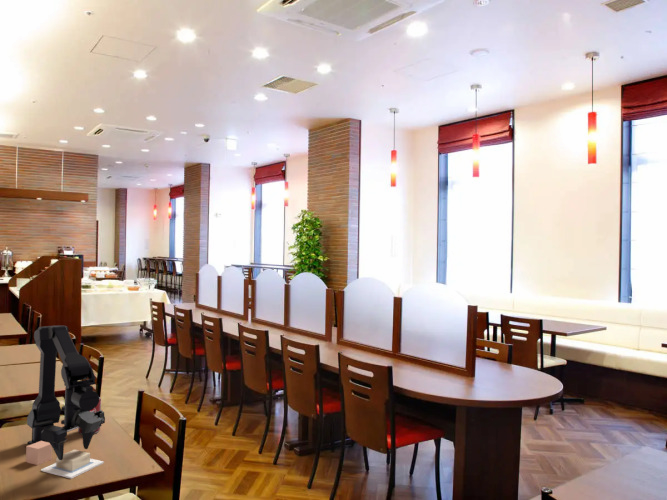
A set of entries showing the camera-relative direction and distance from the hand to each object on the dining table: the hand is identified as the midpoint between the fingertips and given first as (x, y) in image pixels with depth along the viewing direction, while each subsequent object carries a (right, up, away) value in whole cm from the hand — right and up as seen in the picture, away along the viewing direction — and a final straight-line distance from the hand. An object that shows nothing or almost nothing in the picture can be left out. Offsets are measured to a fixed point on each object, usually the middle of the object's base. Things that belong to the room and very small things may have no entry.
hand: (73, 454), depth 155 cm
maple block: (0, -3, 0) cm, 3 cm away
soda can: (-9, -4, +29) cm, 31 cm away
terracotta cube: (-13, -4, +4) cm, 14 cm away
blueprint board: (0, -4, 0) cm, 4 cm away
